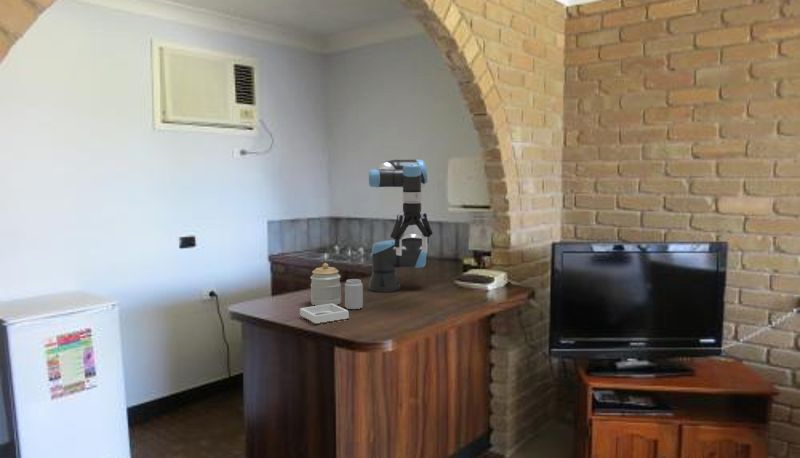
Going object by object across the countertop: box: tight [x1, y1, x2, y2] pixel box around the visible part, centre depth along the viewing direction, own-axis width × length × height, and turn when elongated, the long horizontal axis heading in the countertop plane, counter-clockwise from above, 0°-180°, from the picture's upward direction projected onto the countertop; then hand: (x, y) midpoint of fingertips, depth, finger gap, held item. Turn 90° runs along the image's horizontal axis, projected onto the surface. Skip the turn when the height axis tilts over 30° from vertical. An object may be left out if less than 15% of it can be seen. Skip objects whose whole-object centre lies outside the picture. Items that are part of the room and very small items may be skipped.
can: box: [344, 278, 364, 310], centre depth 225 cm, size 8×8×12 cm
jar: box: [310, 262, 342, 306], centre depth 233 cm, size 13×13×18 cm
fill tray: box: [299, 304, 350, 323], centre depth 211 cm, size 14×14×4 cm
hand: (412, 253), depth 225 cm, fingers open, 13 cm apart
